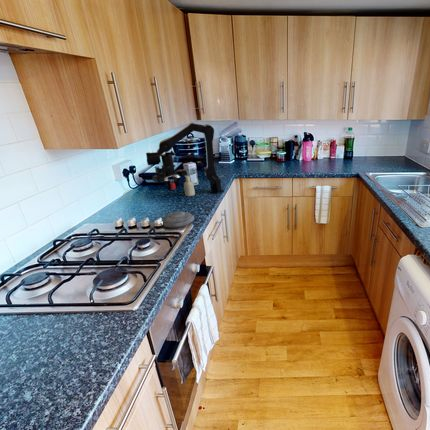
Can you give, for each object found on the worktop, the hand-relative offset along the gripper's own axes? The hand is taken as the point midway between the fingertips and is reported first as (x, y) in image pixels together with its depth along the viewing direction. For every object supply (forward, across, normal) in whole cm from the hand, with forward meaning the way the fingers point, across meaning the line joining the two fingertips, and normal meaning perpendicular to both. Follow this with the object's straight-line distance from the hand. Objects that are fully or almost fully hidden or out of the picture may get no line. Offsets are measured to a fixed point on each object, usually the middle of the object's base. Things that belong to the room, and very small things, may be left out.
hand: (172, 189), depth 167 cm
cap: (-1, 0, 0) cm, 1 cm away
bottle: (+4, -8, +4) cm, 10 cm away
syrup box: (+5, -21, -11) cm, 24 cm away
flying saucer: (+5, +20, +34) cm, 40 cm away
